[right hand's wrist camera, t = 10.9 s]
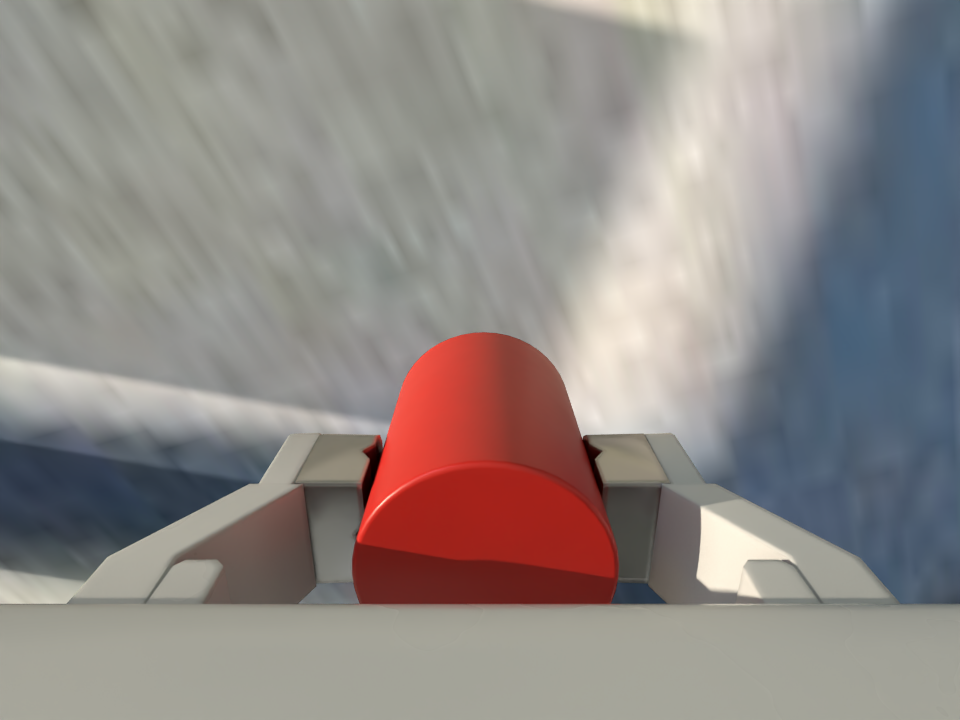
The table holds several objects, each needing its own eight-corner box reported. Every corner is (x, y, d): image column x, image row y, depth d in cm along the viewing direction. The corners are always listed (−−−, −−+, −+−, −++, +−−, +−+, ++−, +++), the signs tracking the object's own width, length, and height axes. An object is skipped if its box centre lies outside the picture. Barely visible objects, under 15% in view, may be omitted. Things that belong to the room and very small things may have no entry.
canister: (452, 298, 11) (433, 414, 7) (602, 384, 12) (676, 541, 7) (369, 436, 12) (305, 614, 8) (510, 507, 13) (526, 709, 8)
